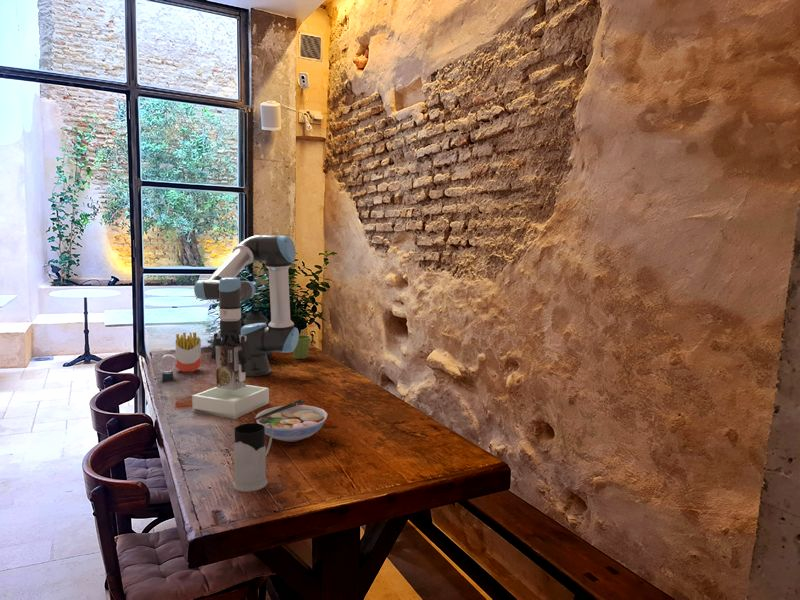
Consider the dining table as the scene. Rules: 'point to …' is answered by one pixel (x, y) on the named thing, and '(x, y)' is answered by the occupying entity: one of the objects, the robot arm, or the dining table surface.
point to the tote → (230, 401)
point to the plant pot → (302, 347)
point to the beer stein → (252, 319)
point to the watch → (166, 374)
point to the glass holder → (250, 456)
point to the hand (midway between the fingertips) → (231, 379)
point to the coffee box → (228, 367)
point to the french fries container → (188, 352)
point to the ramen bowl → (292, 421)
